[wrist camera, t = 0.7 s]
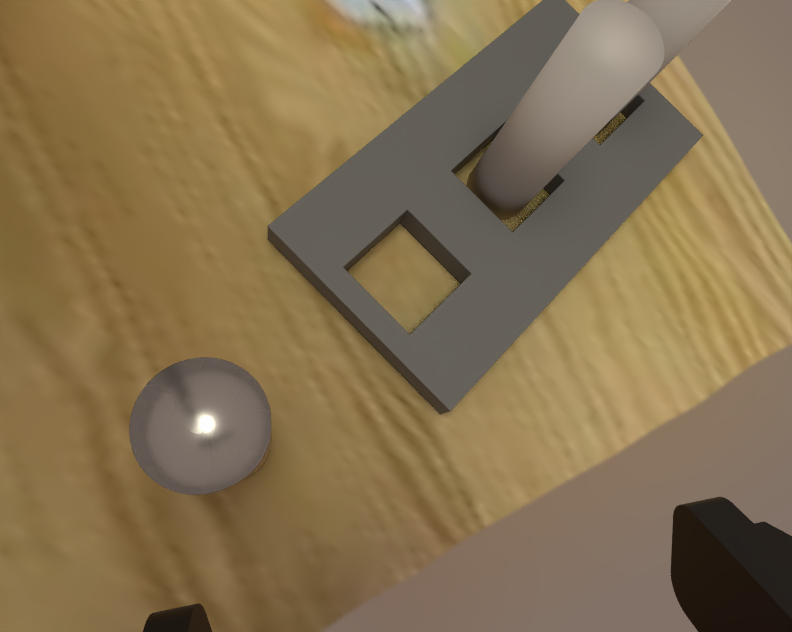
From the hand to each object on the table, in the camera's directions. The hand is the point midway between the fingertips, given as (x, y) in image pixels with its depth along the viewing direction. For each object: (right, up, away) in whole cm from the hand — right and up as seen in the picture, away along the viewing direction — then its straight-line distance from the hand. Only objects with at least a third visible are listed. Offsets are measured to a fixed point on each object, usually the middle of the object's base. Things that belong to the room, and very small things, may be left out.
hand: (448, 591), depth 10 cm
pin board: (+6, +13, +28) cm, 31 cm away
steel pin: (-9, -2, +21) cm, 23 cm away
